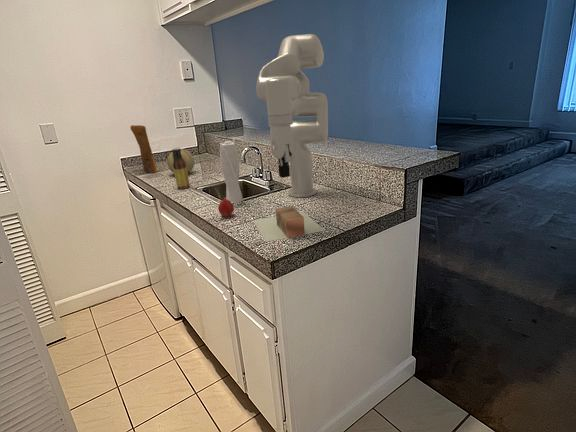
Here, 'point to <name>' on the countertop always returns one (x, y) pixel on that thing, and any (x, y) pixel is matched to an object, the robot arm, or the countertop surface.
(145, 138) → the brown tall curved piece
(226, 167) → the skyscraper
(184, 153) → the cantaloupe
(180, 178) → the sauce bottle
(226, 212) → the onion
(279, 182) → the countertop surface
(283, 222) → the copper block
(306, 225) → the mat
